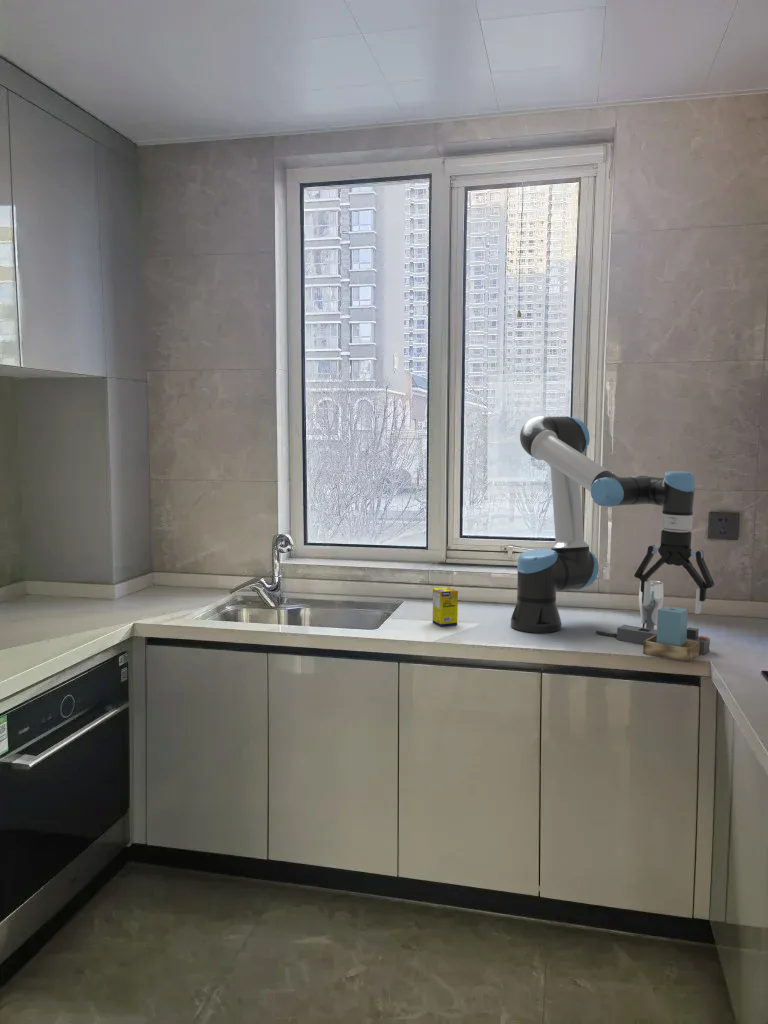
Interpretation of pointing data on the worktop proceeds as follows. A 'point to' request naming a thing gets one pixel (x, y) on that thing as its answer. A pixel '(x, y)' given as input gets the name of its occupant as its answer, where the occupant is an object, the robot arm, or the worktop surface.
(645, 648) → the tray
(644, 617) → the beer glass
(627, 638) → the power strip
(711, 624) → the worktop surface
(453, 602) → the supplement box
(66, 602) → the worktop surface
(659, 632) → the block
